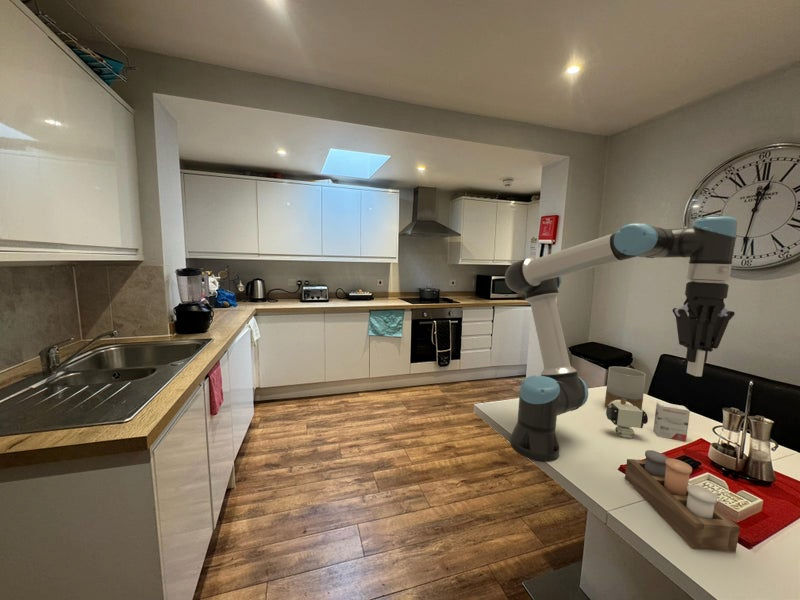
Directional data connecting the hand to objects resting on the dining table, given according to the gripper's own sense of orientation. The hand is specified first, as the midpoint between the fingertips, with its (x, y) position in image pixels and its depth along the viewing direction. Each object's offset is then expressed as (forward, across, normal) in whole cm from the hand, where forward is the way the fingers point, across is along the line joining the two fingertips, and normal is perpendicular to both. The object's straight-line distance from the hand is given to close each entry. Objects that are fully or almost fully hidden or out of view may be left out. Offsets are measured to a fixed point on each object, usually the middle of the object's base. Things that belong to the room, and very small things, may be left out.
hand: (694, 374), depth 80 cm
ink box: (+35, +24, +35) cm, 55 cm away
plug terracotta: (+32, -4, -4) cm, 32 cm away
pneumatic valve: (+35, +7, +33) cm, 48 cm away
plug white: (+34, -4, -11) cm, 36 cm away
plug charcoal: (+34, -4, +3) cm, 34 cm away
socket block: (+34, -4, -4) cm, 35 cm away
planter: (+35, +19, +55) cm, 68 cm away
